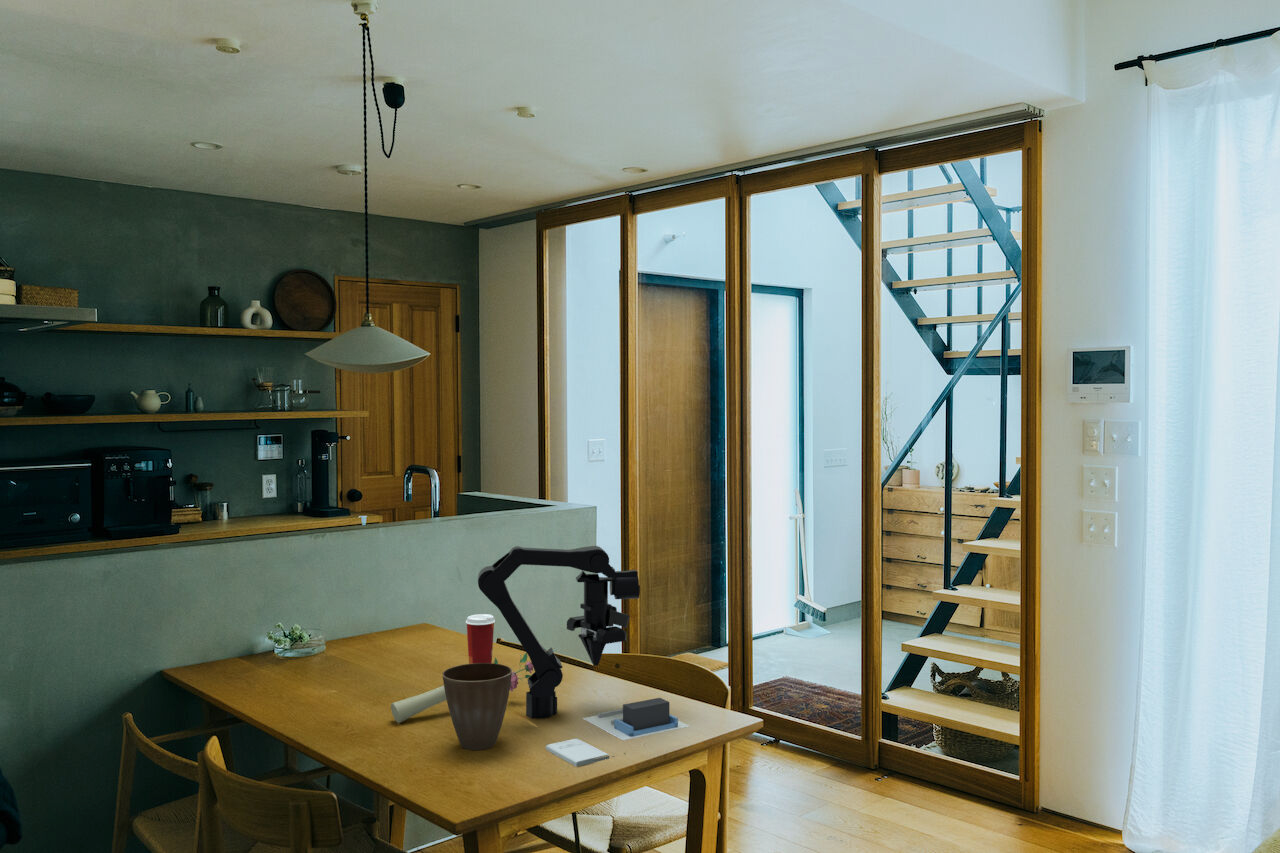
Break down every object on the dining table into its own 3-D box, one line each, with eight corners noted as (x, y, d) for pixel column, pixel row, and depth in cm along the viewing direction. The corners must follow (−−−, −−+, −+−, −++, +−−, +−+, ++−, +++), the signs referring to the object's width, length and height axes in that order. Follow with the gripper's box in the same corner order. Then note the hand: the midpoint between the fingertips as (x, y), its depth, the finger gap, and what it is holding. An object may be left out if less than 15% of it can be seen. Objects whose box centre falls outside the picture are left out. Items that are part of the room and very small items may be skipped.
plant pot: (450, 760, 203) (450, 684, 203) (435, 738, 217) (435, 666, 217) (520, 751, 209) (520, 676, 209) (501, 729, 223) (501, 660, 223)
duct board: (622, 743, 214) (622, 731, 214) (582, 721, 229) (582, 709, 229) (689, 729, 224) (690, 717, 224) (646, 709, 239) (646, 697, 239)
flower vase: (399, 749, 232) (527, 693, 251) (414, 749, 222) (547, 690, 241) (383, 701, 233) (512, 649, 252) (398, 698, 223) (531, 644, 242)
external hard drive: (576, 769, 200) (545, 751, 210) (609, 761, 205) (578, 744, 215) (576, 761, 200) (545, 744, 210) (609, 753, 205) (578, 737, 215)
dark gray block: (632, 733, 218) (632, 709, 218) (622, 728, 222) (622, 704, 222) (669, 726, 224) (669, 702, 224) (659, 721, 227) (659, 697, 227)
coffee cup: (501, 669, 275) (501, 615, 275) (481, 675, 268) (481, 621, 268) (478, 664, 280) (478, 612, 279) (458, 671, 273) (458, 617, 272)
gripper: (645, 602, 230) (645, 669, 230) (604, 590, 246) (604, 652, 246) (604, 608, 224) (604, 676, 224) (565, 594, 240) (565, 658, 240)
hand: (595, 665), depth 234 cm, fingers closed
